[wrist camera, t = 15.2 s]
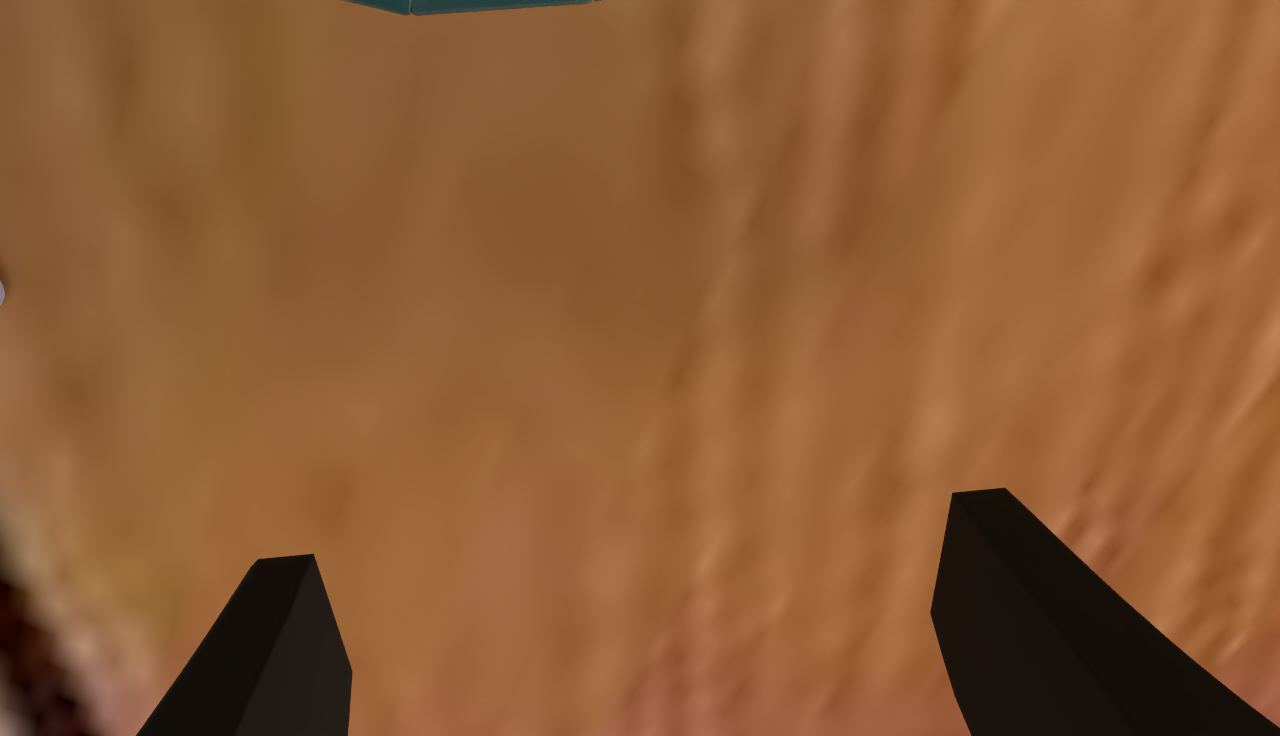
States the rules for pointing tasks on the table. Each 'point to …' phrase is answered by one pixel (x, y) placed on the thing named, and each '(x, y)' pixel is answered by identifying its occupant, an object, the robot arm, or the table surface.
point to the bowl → (458, 5)
